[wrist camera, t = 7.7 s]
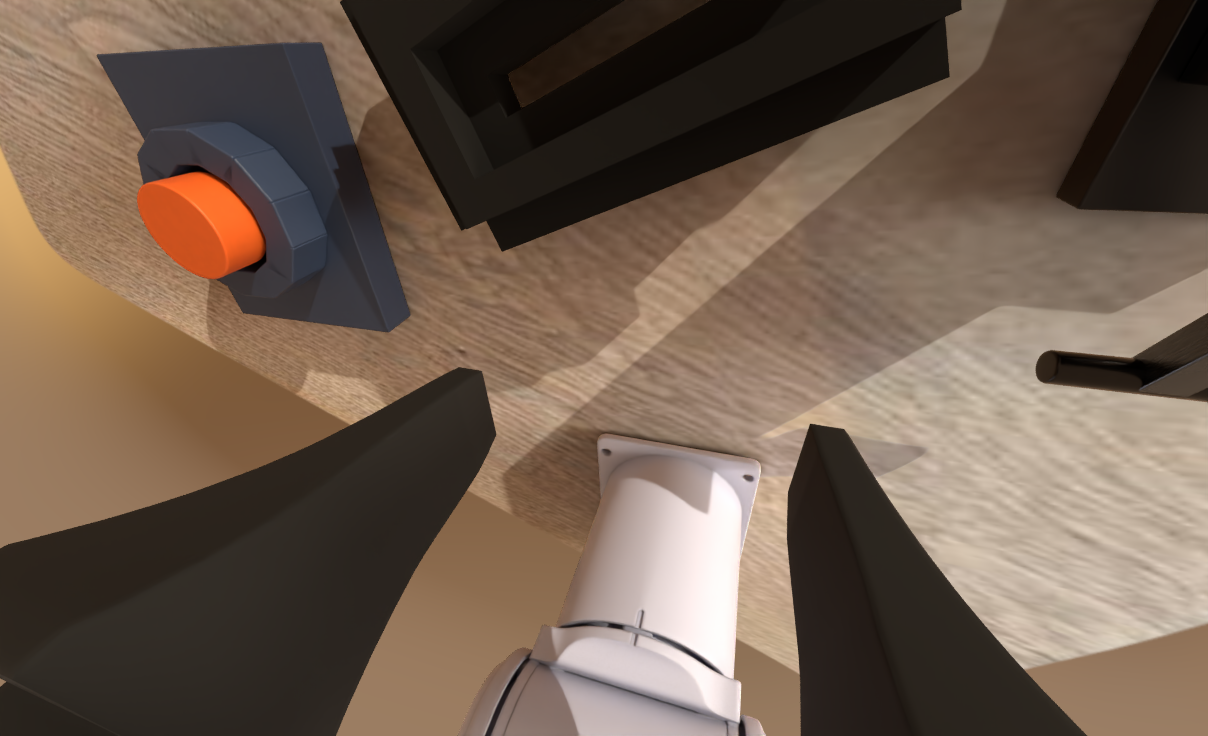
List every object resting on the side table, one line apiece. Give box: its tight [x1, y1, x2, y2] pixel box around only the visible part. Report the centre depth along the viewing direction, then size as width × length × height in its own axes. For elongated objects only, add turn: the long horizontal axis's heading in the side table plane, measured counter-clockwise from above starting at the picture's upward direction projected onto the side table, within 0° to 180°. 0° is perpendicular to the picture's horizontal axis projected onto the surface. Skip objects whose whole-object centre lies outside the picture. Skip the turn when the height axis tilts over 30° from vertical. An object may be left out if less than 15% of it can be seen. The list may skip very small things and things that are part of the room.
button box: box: [97, 43, 410, 332], centre depth 19 cm, size 11×9×4 cm
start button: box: [137, 171, 266, 279], centre depth 17 cm, size 4×4×2 cm
